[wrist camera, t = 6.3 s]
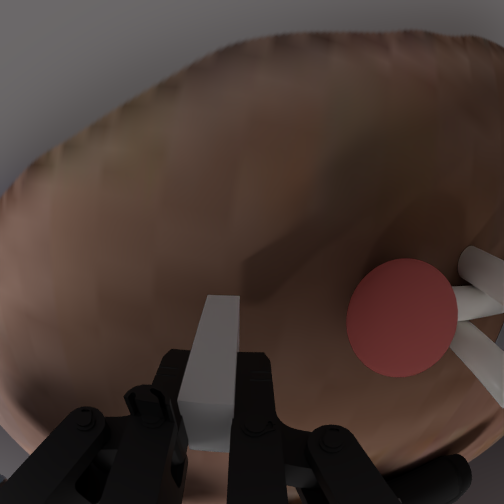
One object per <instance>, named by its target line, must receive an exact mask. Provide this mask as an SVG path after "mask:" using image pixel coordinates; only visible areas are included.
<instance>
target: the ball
mask: <svg viewBox="0 0 504 504" xmlns="http://www.w3.org/2000/svg"><path fill="white" fill-rule="evenodd" d="M457 322H458V306H457V300H456V297H455V294H454V291H453V289H452V287H451V285H450V283H449V281H448V280H447V279H446V277H445V276H444V275H443V274H442V273H441V272H440V271H439V270H438V269H436V268H435V267H434V266H432V265H430V264H428V263H426V262H424V261H421V260H417V259H409V258H404V259H395V260H392V261H388V262H385V263H383V264H381V265H379V266H377V267H376V268H374V269H373V270H372V271H371V272H369V273H368V274H367V275H366V276H365V277H364V278H363V279H362V280H361V281H360V283H359V284H358V286H357V287H356V289H355V291H354V293H353V295H352V297H351V299H350V302H349V305H348V310H347V318H346V326H347V334H348V338H349V341H350V344H351V347H352V349H353V351H354V352H355V354H356V355H357V357H358V358H359V359H360V360H361V362H362V363H363V364H364V365H365V366H367V367H368V368H370V369H371V370H373V371H374V372H376V373H379V374H381V375H385V376H388V377H408V376H412V375H416V374H418V373H421V372H423V371H425V370H426V369H428V368H430V367H431V366H433V365H434V364H435V363H436V362H437V361H438V360H439V359H440V358H441V357H442V356H443V355H444V354H445V352H446V351H447V349H448V348H449V346H450V344H451V342H452V340H453V338H454V335H455V332H456V327H457Z"/></svg>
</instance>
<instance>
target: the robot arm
mask: <svg viewBox="0 0 504 504" xmlns="http://www.w3.org/2000/svg"><path fill="white" fill-rule="evenodd" d="M239 327H240V296H226V295H207V299H206V302H205V305H204V308H203V312H202V315H201V318H200V322H199V325H198V328H197V332H196V335H195V339H194V342H193V345H192V349H191V350H179V349H171V350H170V351H169V352H168V353H166V354H165V355H164V356H163V358H162V360H161V363H160V365H159V368H158V370H157V373H156V375H155V378H154V380H153V383H152V385H140V386H136V387H134V388H132V389H130V390H129V391H128V392H127V393H126V394H125V396H124V399H125V402H126V404H127V406H128V409H129V411H130V414H131V415H128V416H122V417H104V416H103V414H102V413H101V412H100V411H99V410H98V409H96V408H93V407H80V408H77V409H75V410H74V411H72V412H71V413H70V414H69V415H68V416H67V417H66V418H65V419H64V420H63V421H62V422H61V423H60V424H59V425H58V426H57V427H56V428H55V430H54V431H53V432H52V433H51V434H50V435H49V436H48V437H47V438H46V439H45V440H44V441H43V442H42V443H41V444H40V445H39V446H38V448H37V449H36V450H35V451H34V452H33V453H32V454H31V455H30V456H29V457H28V458H27V459H26V460H25V462H24V463H23V464H22V465H21V466H20V467H19V468H18V469H17V470H16V471H15V472H14V474H13V475H12V476H11V477H10V478H9V479H8V480H7V479H6V477H5V476H3V475H1V474H0V504H182V498H183V491H184V485H185V478H186V472H187V466H188V458H187V455H186V452H187V446H188V444H189V448H190V449H192V450H202V451H214V452H229V468H228V487H227V504H288V497H287V487H286V485H288V486H294V487H295V488H296V490H297V492H298V494H299V496H300V499H301V501H302V503H303V504H402V503H401V502H400V501H399V499H398V498H397V496H396V495H395V494H394V492H393V491H392V489H391V488H390V487H389V485H388V484H387V482H386V481H385V480H384V478H383V477H382V475H381V474H380V473H379V471H378V470H377V468H376V467H375V465H374V464H373V463H372V461H371V460H370V458H369V457H368V455H367V454H366V453H365V451H364V450H363V448H362V447H361V445H360V444H359V442H358V441H357V440H356V438H355V437H354V435H353V434H352V433H351V432H350V431H349V430H348V429H346V428H344V427H342V426H339V425H324V426H321V427H319V428H317V429H315V430H314V431H313V432H308V431H302V430H297V429H294V428H290V427H289V426H287V425H285V424H284V423H282V422H281V421H280V420H279V418H278V417H277V414H276V411H275V401H274V392H273V382H272V373H271V364H270V360H269V359H268V357H267V356H266V355H265V353H264V352H239Z"/></svg>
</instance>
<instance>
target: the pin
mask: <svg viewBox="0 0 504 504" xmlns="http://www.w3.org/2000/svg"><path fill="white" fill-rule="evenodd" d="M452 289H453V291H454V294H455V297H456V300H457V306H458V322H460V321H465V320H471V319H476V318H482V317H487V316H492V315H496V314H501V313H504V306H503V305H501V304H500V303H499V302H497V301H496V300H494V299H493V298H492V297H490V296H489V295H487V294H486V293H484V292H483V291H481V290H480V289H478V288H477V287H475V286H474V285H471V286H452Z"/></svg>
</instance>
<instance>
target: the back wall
mask: <svg viewBox="0 0 504 504" xmlns="http://www.w3.org/2000/svg"><path fill="white" fill-rule="evenodd" d="M495 344H496V345H497V346H498V347H499V348H500V349H502V350H503V351H504V323H503V326H502V328H501V331H500V333H499V336H498V338H497V340H496V342H495Z"/></svg>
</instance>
